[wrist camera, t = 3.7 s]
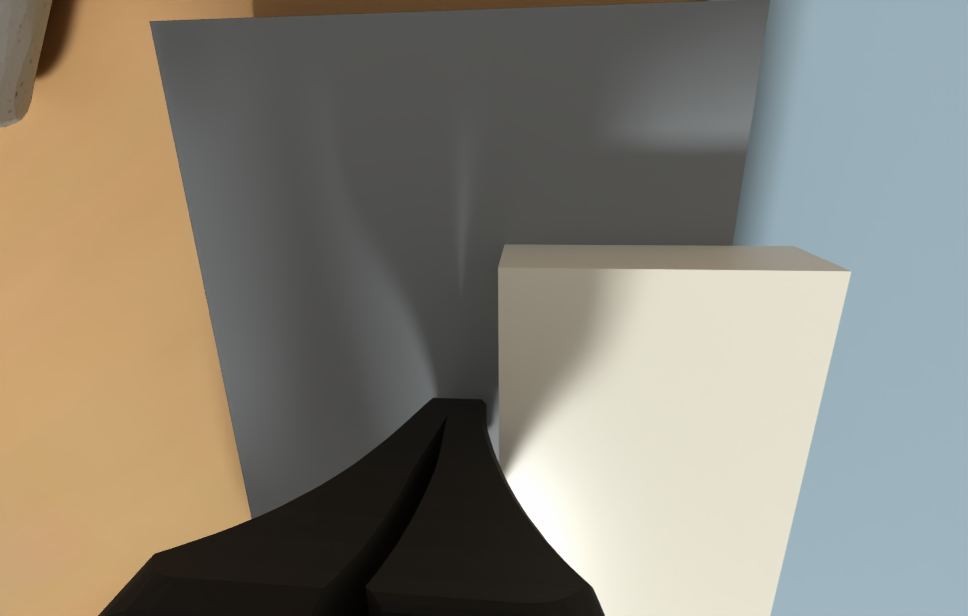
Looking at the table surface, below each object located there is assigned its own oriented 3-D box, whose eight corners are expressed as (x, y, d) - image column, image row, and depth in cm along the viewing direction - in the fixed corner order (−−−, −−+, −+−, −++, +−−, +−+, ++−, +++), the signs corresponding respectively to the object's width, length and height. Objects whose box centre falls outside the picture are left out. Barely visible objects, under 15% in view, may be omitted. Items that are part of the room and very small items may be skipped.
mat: (1010, 626, 18) (1021, 637, 17) (635, 598, 19) (637, 607, 19) (1312, -31, 11) (1338, -36, 11) (707, -8, 12) (712, -12, 12)
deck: (638, 578, 19) (663, 690, 15) (328, 556, 20) (279, 655, 16) (701, 37, 13) (770, -2, 9) (253, 51, 14) (150, 21, 10)
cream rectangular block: (729, 578, 13) (761, 651, 11) (504, 563, 14) (500, 630, 12) (794, 246, 10) (851, 271, 8) (504, 243, 11) (497, 267, 9)
